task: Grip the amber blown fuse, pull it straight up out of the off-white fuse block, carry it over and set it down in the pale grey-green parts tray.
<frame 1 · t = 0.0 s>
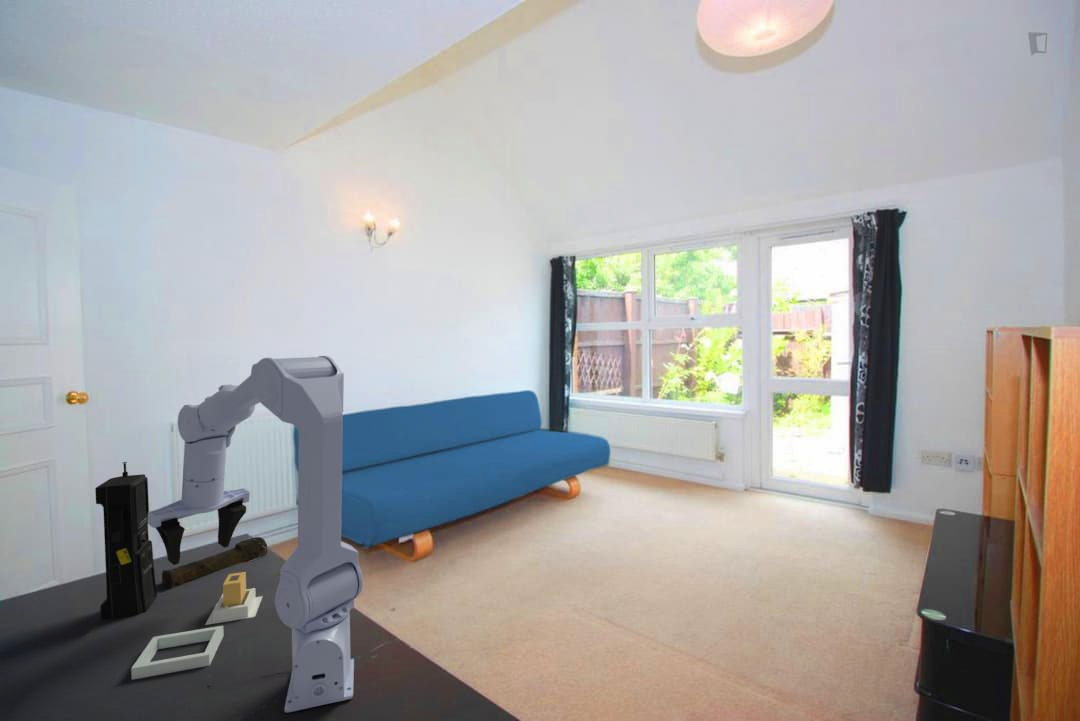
hand: (199, 553, 85), 11 cm above the table, tool pointing down, fingers open, 7 cm apart
portable radio: (129, 613, 86), on the table
hand tool: (218, 572, 102), on the table
fuse block: (235, 614, 85), on the table
fuse: (235, 609, 85), point 1 cm above the table, touching fuse block
parts tray: (181, 661, 73), on the table
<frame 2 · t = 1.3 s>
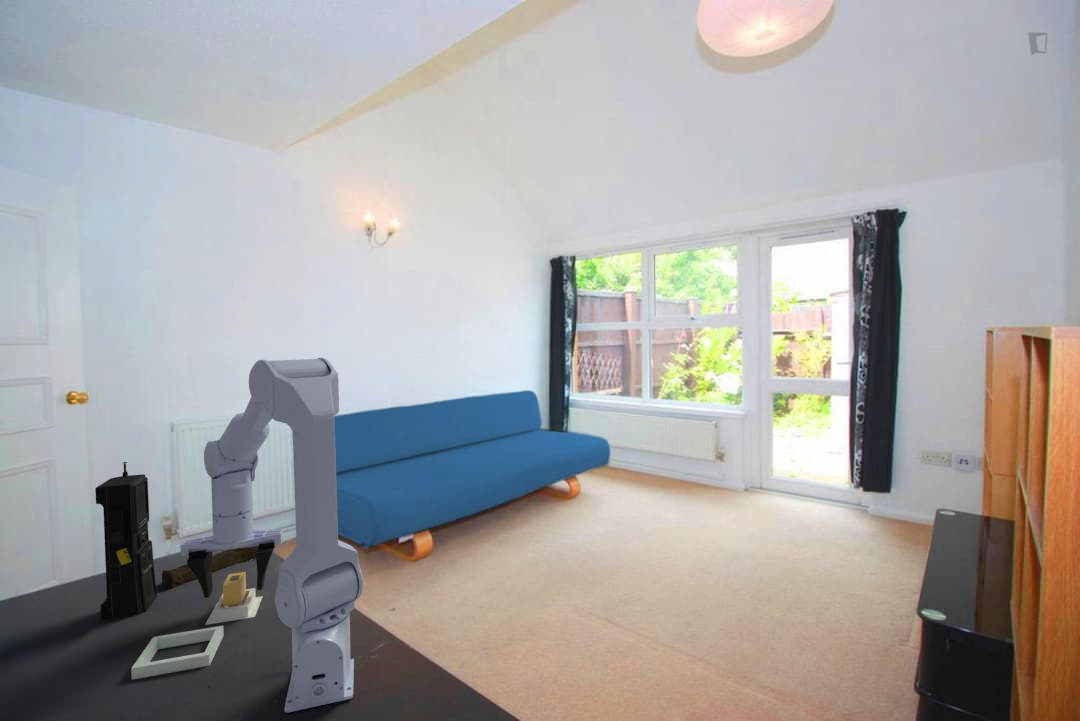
hand: (234, 591, 85), 4 cm above the table, tool pointing down, fingers open, 7 cm apart
nothing on the table moved.
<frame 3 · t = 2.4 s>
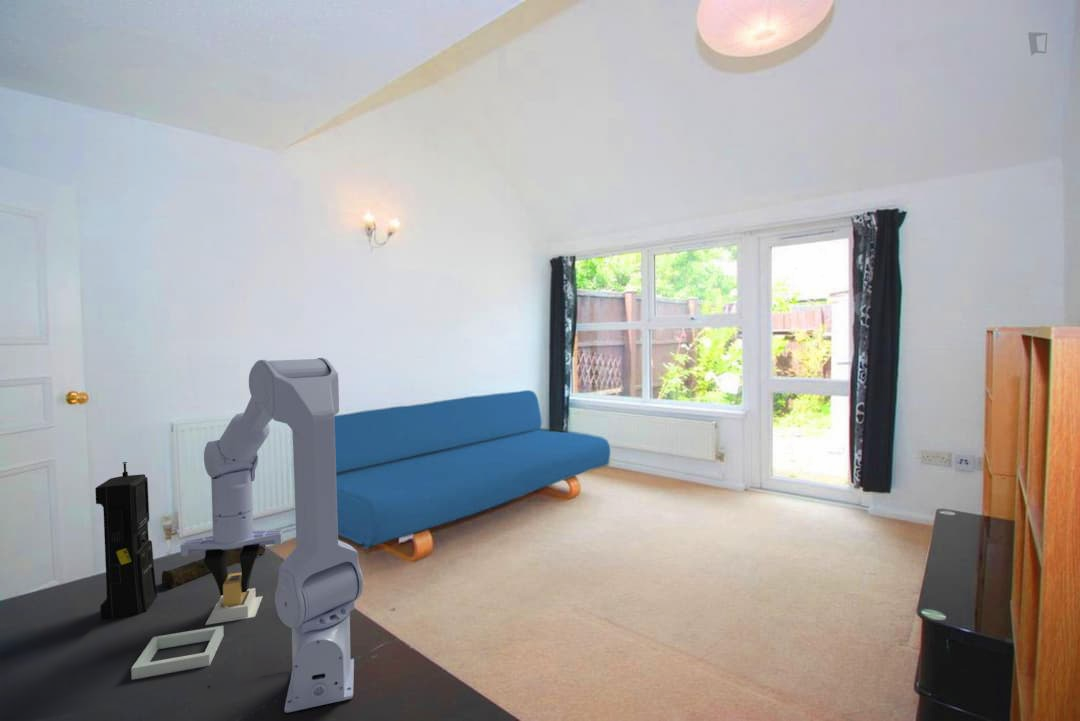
hand: (234, 591, 85), 4 cm above the table, tool pointing down, fingers closed on fuse, 2 cm apart
fuse: (235, 609, 85), point 1 cm above the table, touching fuse block, gripper
everything else where it was.
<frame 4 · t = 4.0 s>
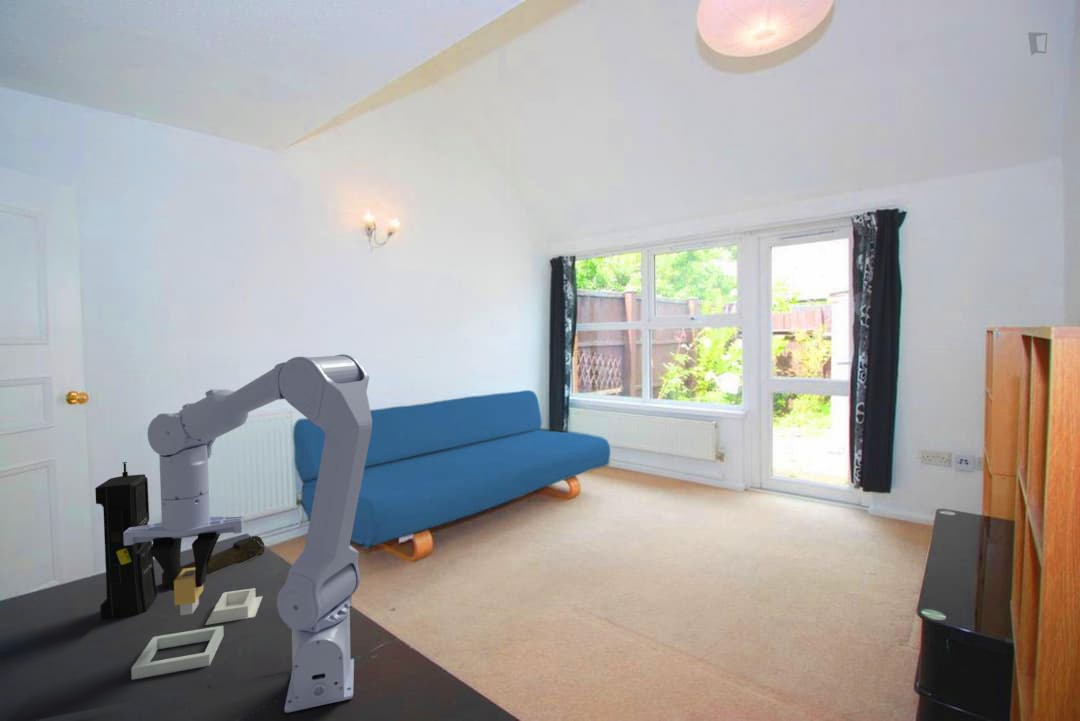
hand: (188, 585, 75), 10 cm above the table, tool pointing down, fingers closed on fuse, 2 cm apart
fuse: (189, 609, 75), point 6 cm above the table, touching gripper
everything else where it was.
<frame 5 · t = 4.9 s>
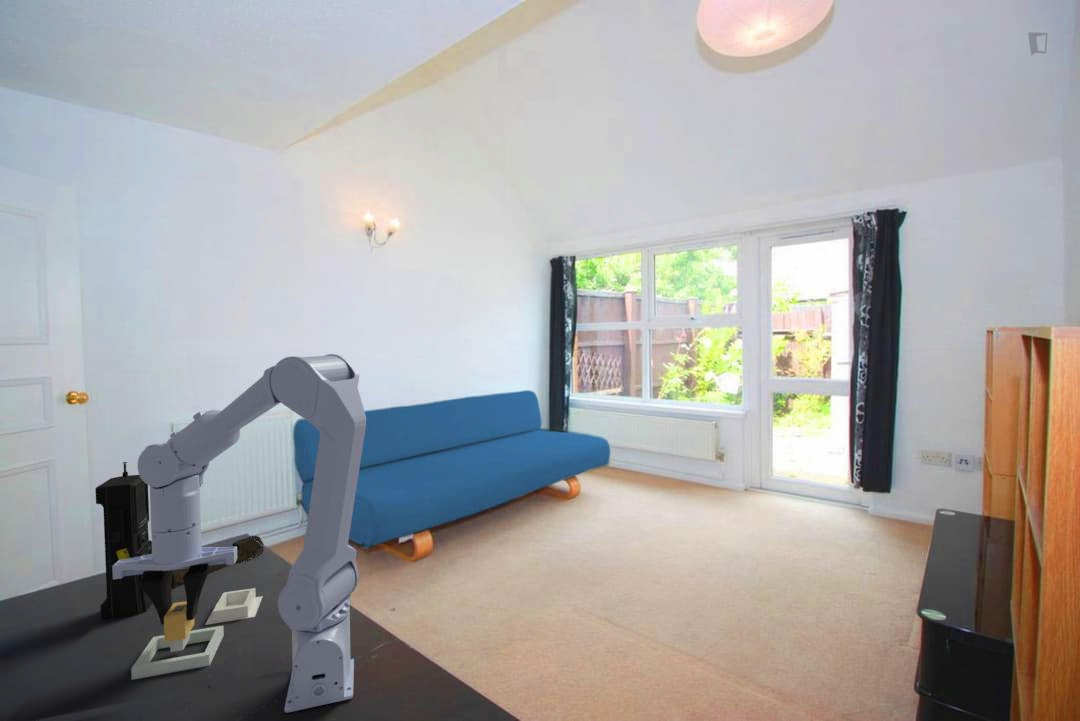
hand: (179, 618, 73), 6 cm above the table, tool pointing down, fingers closed on fuse, 2 cm apart
fuse: (180, 645, 73), point 2 cm above the table, touching gripper
everything else where it was.
when the fingers open (5 cm above the table, at t = 5.8 s): fuse stays where it is, resting on parts tray.
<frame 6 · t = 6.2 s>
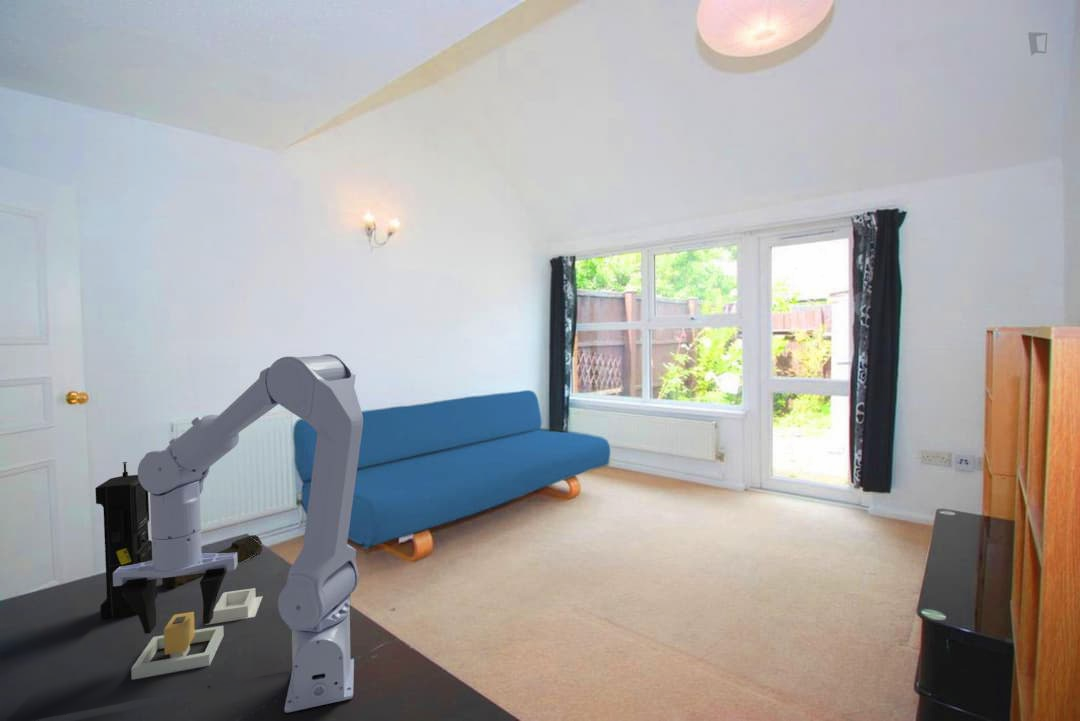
hand: (179, 625, 73), 5 cm above the table, tool pointing down, fingers open, 6 cm apart
fuse: (180, 657, 73), point 1 cm above the table, touching parts tray
everything else where it was.
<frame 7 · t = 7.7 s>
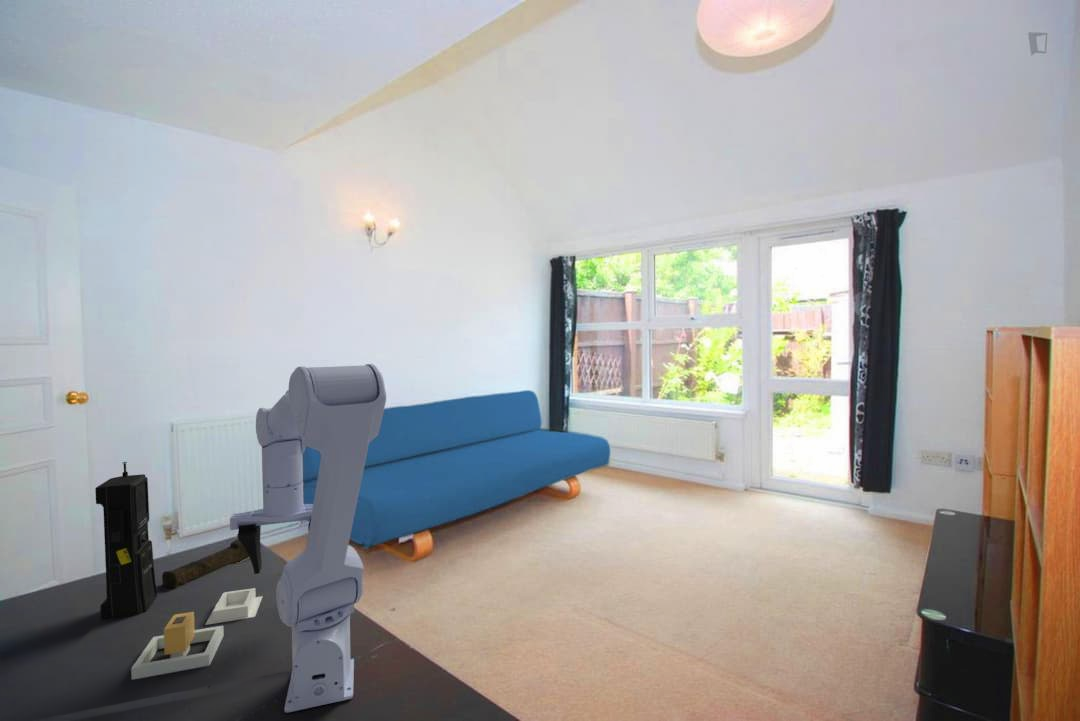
hand: (285, 567, 81), 10 cm above the table, tool pointing down, fingers open, 7 cm apart
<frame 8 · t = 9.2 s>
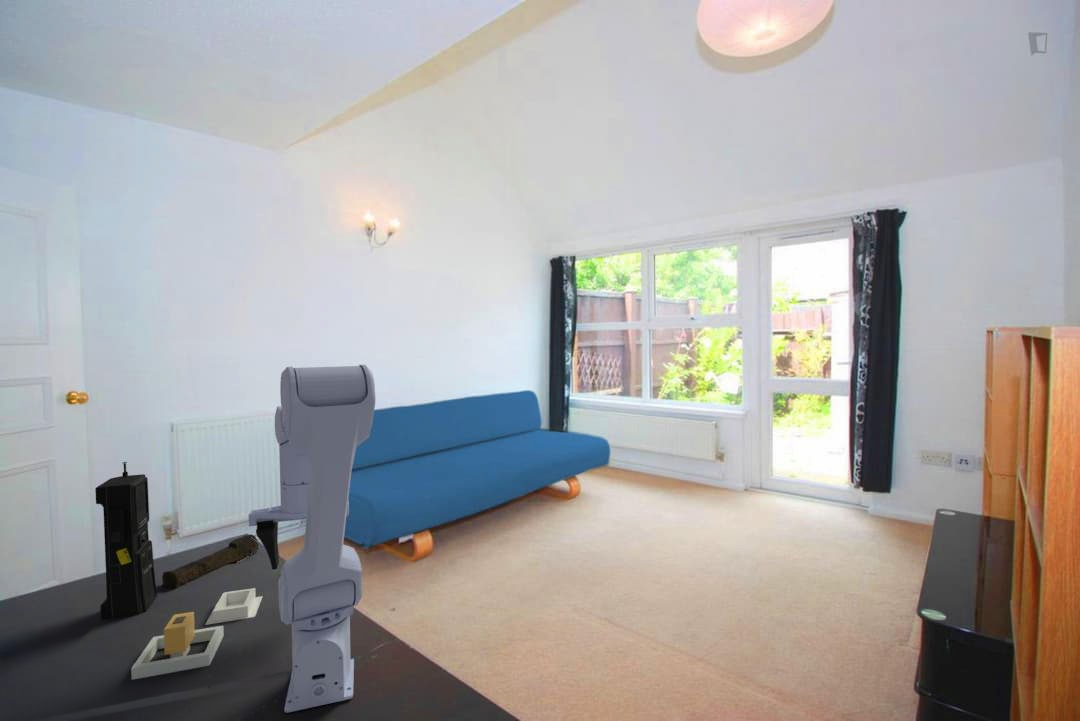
hand: (301, 563, 82), 10 cm above the table, tool pointing down, fingers open, 7 cm apart
at the end: fuse inside the target area on the parts tray (0.0 cm from its centre), point 0.6 cm above the parts tray's base; the gripper is holding nothing; fuse moved 12.3 cm from its start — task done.
